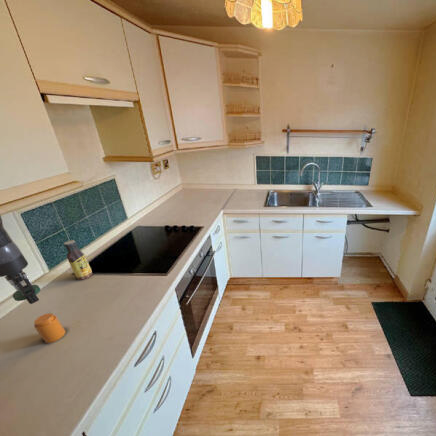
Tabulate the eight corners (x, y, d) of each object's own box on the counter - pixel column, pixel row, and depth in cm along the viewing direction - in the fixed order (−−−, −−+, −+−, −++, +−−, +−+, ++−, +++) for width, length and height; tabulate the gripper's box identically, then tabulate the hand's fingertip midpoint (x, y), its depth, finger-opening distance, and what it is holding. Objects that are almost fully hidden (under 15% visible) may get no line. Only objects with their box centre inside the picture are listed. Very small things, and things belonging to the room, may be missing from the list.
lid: (41, 285, 80) (39, 281, 79) (39, 294, 76) (37, 291, 75) (16, 293, 76) (14, 290, 76) (13, 304, 72) (10, 300, 71)
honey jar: (49, 345, 81) (36, 327, 77) (41, 339, 83) (28, 322, 79) (68, 332, 86) (57, 315, 82) (60, 327, 88) (49, 310, 84)
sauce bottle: (87, 280, 112) (70, 246, 104) (74, 280, 112) (55, 246, 103) (96, 271, 118) (81, 238, 110) (84, 272, 118) (67, 239, 109)
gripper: (28, 257, 69) (54, 298, 77) (13, 245, 76) (38, 284, 83) (-9, 271, 63) (22, 314, 71) (-23, 257, 70) (8, 298, 77)
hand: (31, 298), depth 77 cm, fingers closed on lid, 5 cm apart
